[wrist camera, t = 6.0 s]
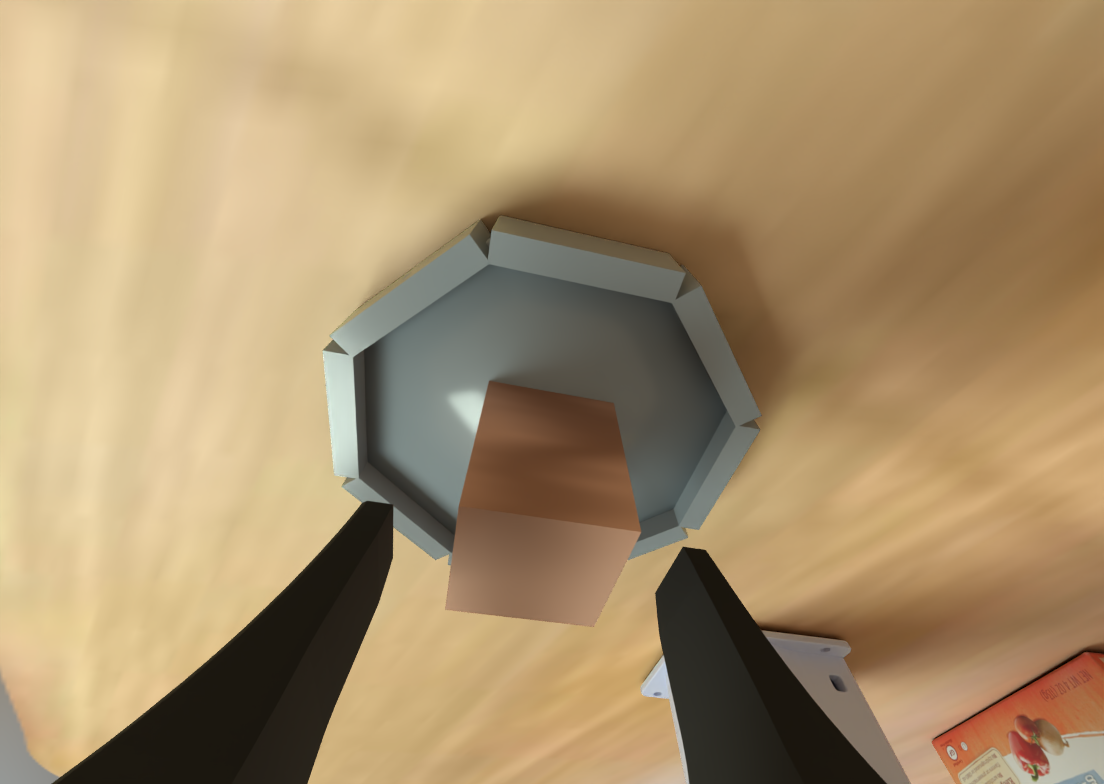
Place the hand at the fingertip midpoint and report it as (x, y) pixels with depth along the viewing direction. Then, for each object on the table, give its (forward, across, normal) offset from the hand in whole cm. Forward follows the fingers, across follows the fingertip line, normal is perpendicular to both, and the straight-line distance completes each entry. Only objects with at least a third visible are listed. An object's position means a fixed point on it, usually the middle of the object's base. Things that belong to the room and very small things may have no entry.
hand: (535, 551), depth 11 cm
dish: (+5, 0, 0) cm, 5 cm away
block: (+4, 0, 0) cm, 4 cm away
